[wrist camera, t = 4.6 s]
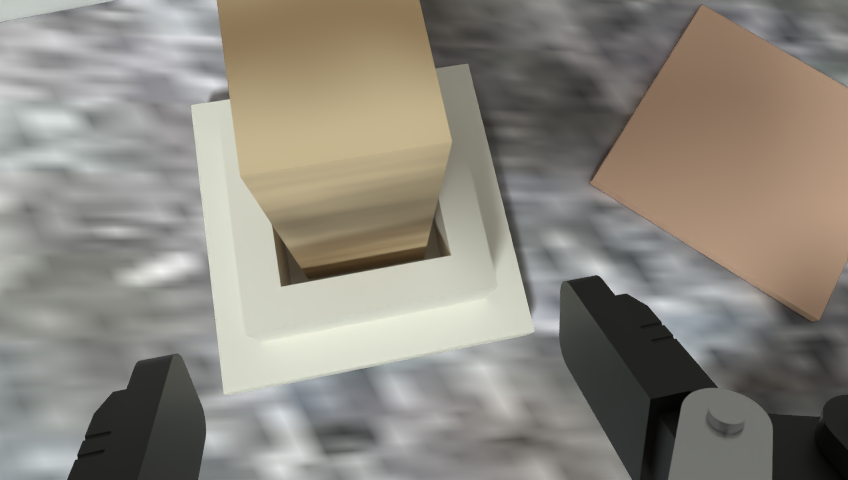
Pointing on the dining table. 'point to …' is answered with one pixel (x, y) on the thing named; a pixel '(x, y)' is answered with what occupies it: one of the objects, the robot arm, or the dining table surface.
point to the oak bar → (337, 126)
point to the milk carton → (39, 7)
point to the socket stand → (364, 289)
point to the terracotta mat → (742, 161)
